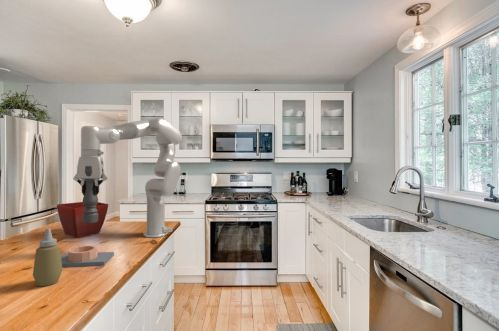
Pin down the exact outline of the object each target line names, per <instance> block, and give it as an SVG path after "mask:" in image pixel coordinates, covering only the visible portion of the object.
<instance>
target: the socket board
mask: <svg viewBox="0 0 499 331" xmlns="http://www.w3.org/2000/svg"><path fill="white" fill-rule="evenodd" d="M98 251H99V250H98V246H97V245H91V244H88V245H87V244H86V245H80V246H76V247H71V248H70V249H69V250H68V253H63V254H61V262H62V268H76V267H77V268H78V267H79V268H80V267H98V266H99V267H104V266H105V265H106V264H107V263H108V262H109V261H110V260H111V259H112V258H113V257H114V255H115V251H104V252H103V251H102V252H101V251H99V252H98Z"/></svg>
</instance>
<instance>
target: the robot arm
mask: <svg viewBox="0 0 499 331" xmlns="http://www.w3.org/2000/svg"><path fill="white" fill-rule="evenodd" d="M153 135H155V141H156V143H157V144H158V145H157V146H158V147H159V154H158V157H157V160H156V162H155V166H154V168H153V173H154V175H155V176H156V177H159V178H150V179H149V180H147V182H146V183H145V186H144V187H145V189H144V190H145V196H146V231H145V232H143V237H146V238H161V237H164V236H167V234H168V232H169V233H170V232H173V227H167V226H166V225H165V213H166V212H165V210H166V208H165V206H166V204H165V203H166V201H165V198H164V197H167V198H168V197H171V196H173V195H174V193H175V190H176V188H177V186H178V182H179V179H180V175H181V169H182V168H181V166H180V164H179V163H178V162H177V161H175V157H176V156H175V155H176V152H175V149H174V146H175V145H176V146H177V145H178V144H180V143H181V142H182V141H183V136H182V133H181V131H180V130H179V129H178V128H176V127H175V126H174V125H173V124H171V123H170V122H168V121H167V120H166V119H164V118H162V117H158V118H156V117H155V118H148V119H142V120H137V121H130V122H126V123H125V122H124V123H121V124H116V125H111V126H105V127H99V126H95V125H94V126H93V125H84V126H81V129H80V156H79V157H78V161H77V166H76V168H77V169H76V173H75V175H74V177H73V178H72V179H73V181H75V182H76V183H78V184H79V185H80V186H81V194H82V196H84V195H85V190H86V182H85V181H84V179H94V180H95V186H94V195H97V196H98V195H99V193H100V186H101V184H103V183H104V182H105V181H107V180H108V177H107V176H106V175H105V166H104V159H103V156H101V155H104V151H102V150H101V145H105V144H107V145H108V144H109V145H111V144H115V143H117V142H119V141H120V140H121V141H123V140H134V139H140V138H144V137H148V136H153ZM85 166H92V174H91V176H86V173H85Z"/></svg>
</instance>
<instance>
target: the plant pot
mask: <svg viewBox="0 0 499 331" xmlns="http://www.w3.org/2000/svg"><path fill="white" fill-rule="evenodd" d="M56 207H57V213H58V218H59V221H60V224H61V227H62V230H63V232H64V234H65V235H67V236H69V237H72V238H74V239H79V238H83V237H87V236H93V235H97V234H98V235H99V234H100V232H101V230H102V229H103V226H104V222H105V221H106V217H107V212H108V209H109V203H104V202H99V201H98V203H97V204H96V207H95V208H96V209H97V210H98V211H97V213H98V222H94V223H83V222H82V215H83V214H84V213H83V211H84V209H85V205H84V204H83V201H78V202H68V203H59V204H56Z"/></svg>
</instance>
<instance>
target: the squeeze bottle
mask: <svg viewBox="0 0 499 331" xmlns="http://www.w3.org/2000/svg"><path fill="white" fill-rule="evenodd" d="M51 230H52V229H51V228H47V229H45V231H44V232H45V233H44V237H43V239H41V240H39V246H38V247H37V248H36V249H35V255H34V265H33V270H32V276H33V279H34V282H35V285H36V286H39V287H44V286H45V287H46V286H51V285H54V284H56V283H58V282H59V280H60V277H61V275H62V272H63V267H62V262H61V255H62V254H61V247H60V245H59V244H58V243H57V238H53V234H52V231H51Z"/></svg>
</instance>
